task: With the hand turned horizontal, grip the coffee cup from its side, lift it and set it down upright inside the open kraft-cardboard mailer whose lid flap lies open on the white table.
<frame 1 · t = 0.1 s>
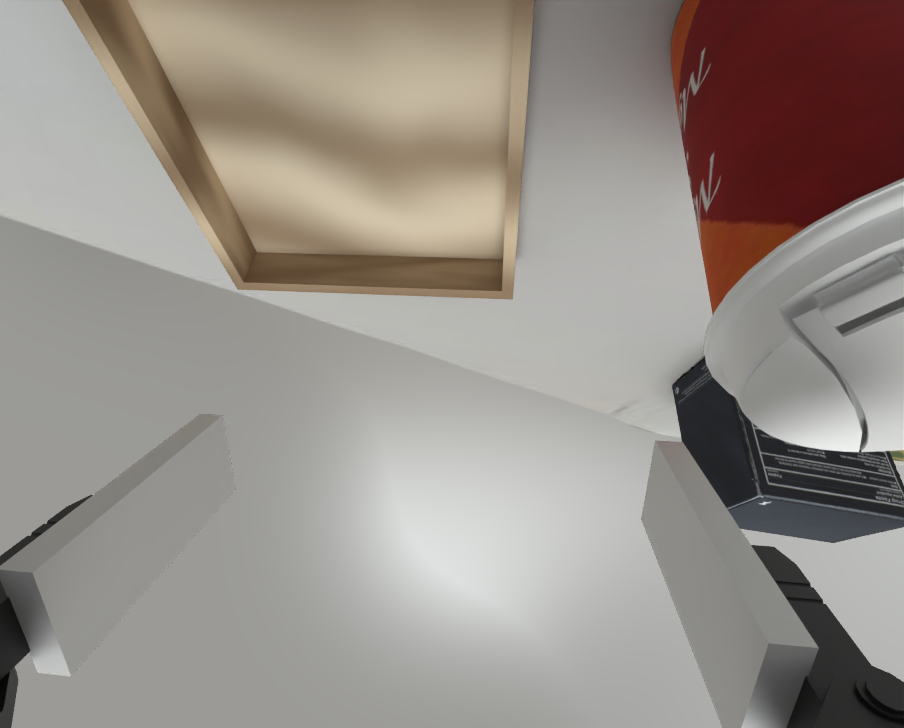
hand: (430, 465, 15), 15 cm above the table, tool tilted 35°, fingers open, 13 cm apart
small box: (757, 376, 36), on the table
coffee cup: (759, 21, 18), on the table
mailer: (351, 129, 22), on the table
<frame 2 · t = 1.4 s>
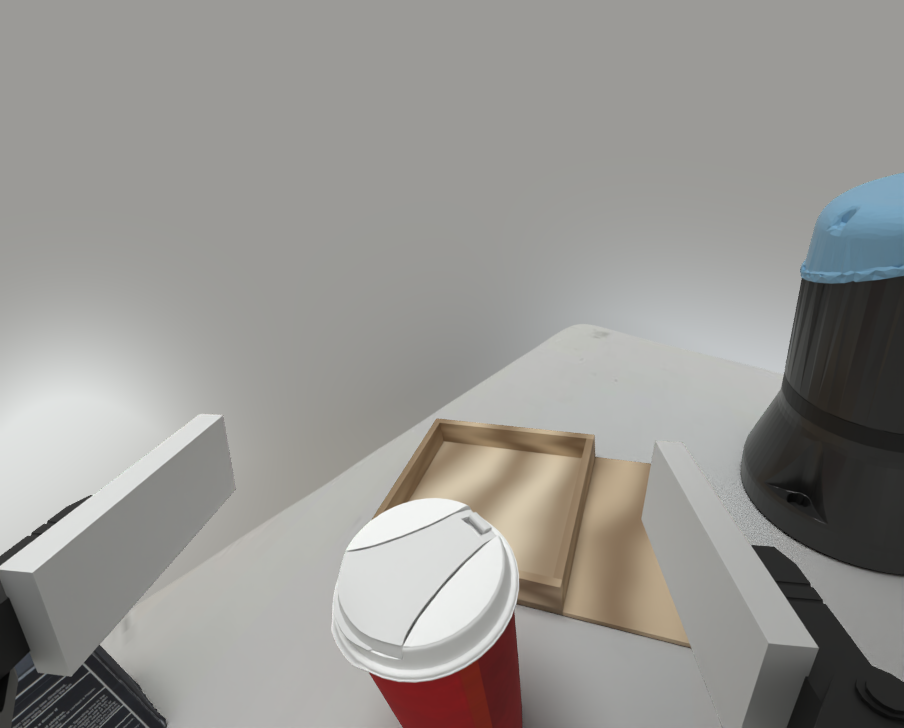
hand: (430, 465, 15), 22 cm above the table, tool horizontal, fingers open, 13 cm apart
mailer: (489, 509, 42), on the table
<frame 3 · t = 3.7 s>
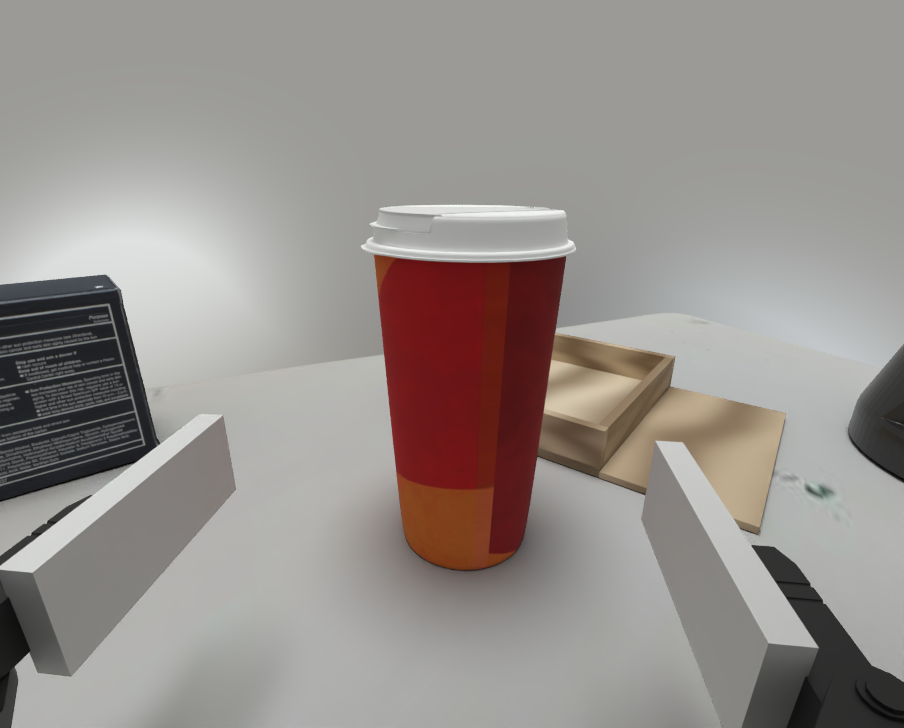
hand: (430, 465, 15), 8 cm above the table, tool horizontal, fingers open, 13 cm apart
small box: (54, 465, 30), on the table
coffee cup: (462, 529, 24), on the table
mailer: (538, 398, 39), on the table
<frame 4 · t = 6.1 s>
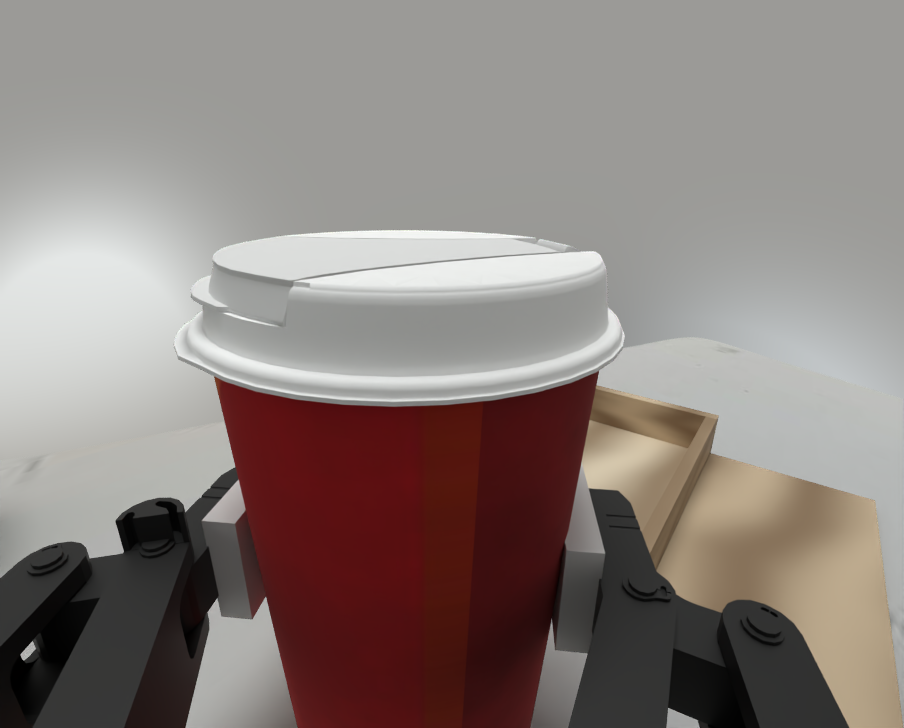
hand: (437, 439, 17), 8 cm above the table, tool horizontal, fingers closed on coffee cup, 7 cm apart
mailer: (539, 472, 29), on the table
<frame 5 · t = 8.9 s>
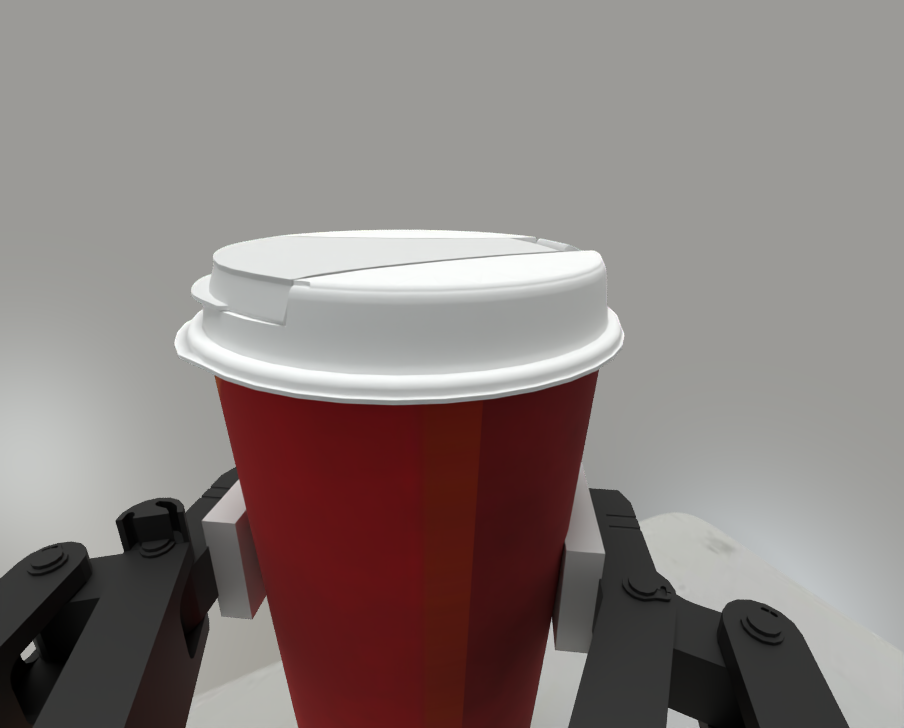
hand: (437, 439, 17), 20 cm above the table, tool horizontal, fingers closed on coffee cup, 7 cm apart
when the fingers open (9 cm above the table, at t = 11.7 s): coffee cup stays where it is, resting on mailer.
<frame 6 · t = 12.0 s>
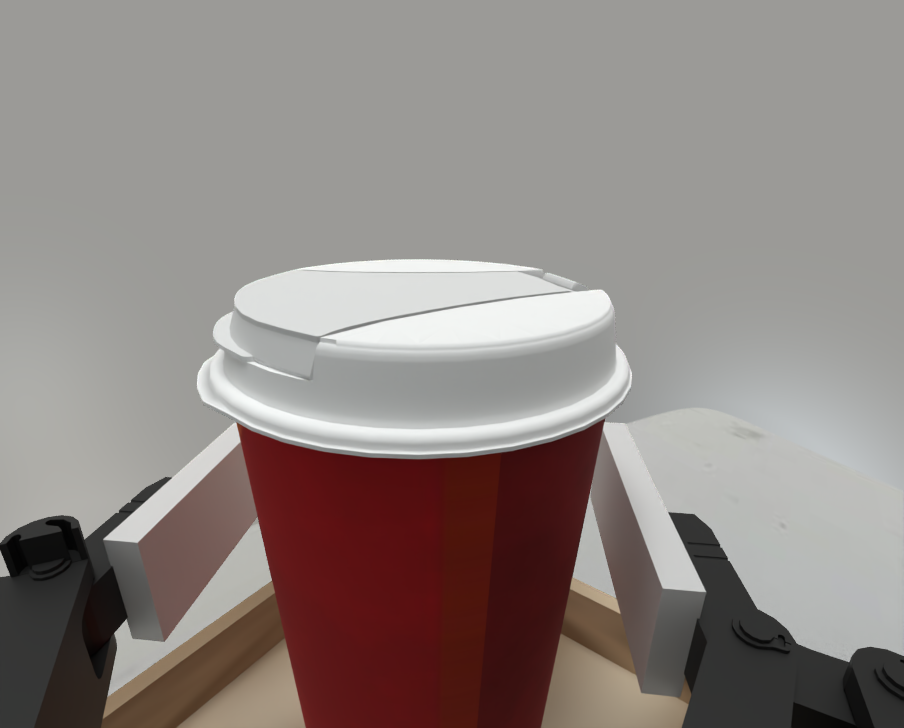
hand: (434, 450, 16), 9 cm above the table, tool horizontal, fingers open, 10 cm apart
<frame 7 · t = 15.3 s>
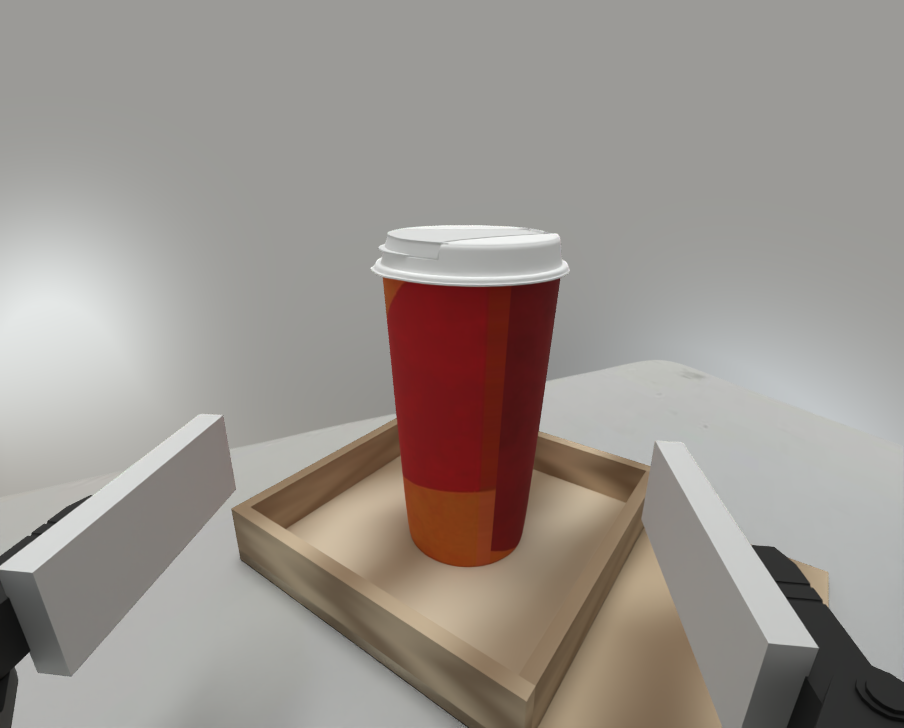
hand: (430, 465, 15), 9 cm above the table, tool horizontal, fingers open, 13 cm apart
coffee cup: (464, 529, 26), resting on mailer
mailer: (459, 535, 26), on the table
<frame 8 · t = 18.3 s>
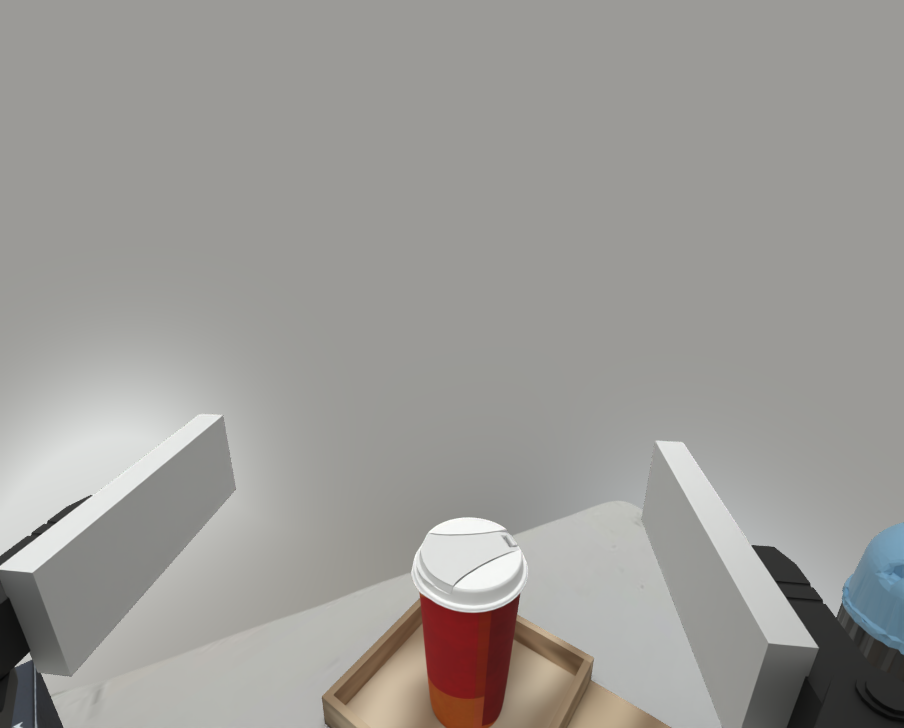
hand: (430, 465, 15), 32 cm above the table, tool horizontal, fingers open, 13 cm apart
coffee cup: (465, 698, 40), resting on mailer
mailer: (462, 702, 40), on the table
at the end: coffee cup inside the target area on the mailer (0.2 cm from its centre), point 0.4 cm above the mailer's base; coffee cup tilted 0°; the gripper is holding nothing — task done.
